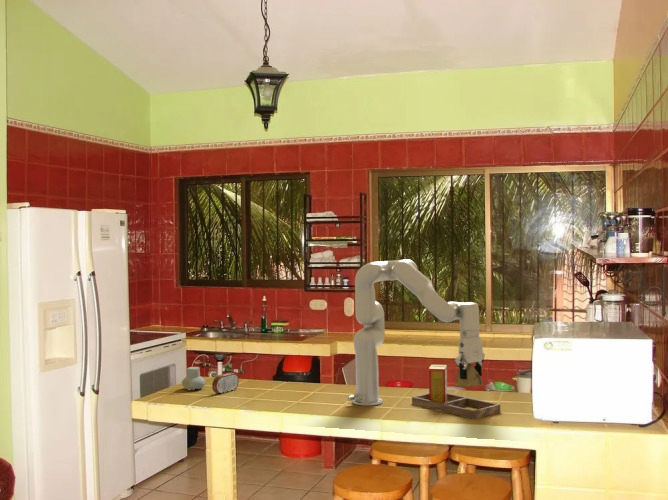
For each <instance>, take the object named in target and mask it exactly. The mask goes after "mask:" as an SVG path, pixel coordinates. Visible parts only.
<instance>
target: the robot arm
mask: <svg viewBox="0 0 668 500" xmlns="http://www.w3.org/2000/svg"><path fill="white" fill-rule="evenodd" d="M383 281H384V282H385V281H398V282H399V283H401V284H402V285H403V286H404V287H405V288H406V289H408V291H410V292H411V293H412V294H413V295H415V296H416V298H417V299H418V300H419V302H420V303H421V305H422V306H424V308H426V309H427V310H428V311H429V312H430V313H431V314H432V315H433V316H434V317H435V318H437V319H438V320H440V321H441V322H444V323H451V322H453V321H456V320H459V341H458V356H457V357H456V358H455V360H454V361H455V363H456V366H457V368H458V369H460V379H465V380H466V379H467V369H466V366H467V364H471V365H472V364H475V365H474V366H473V367H474V368H475V370H476V371H477V372H478V373H479V375H480V377H482V376H483V373H482V367H483V363H484V360H485V357H486V354H485V353H484V352H483V351H484V350H483V349H484V348H483V342H482V337H481V335H480V316H479V315H480V308H479V304H478V303H477V302H472V301H468V302H460V301H459V302H458V301H448V302H447V301H446V300H445V299H444V298H443V297H441V295H439V294H438V293H437V292H436V290H435V289H434V286H433V283H432V281H431V280H430V279H429V278H428V277H427V276H425V274H423V273H422V272H421V271H419V269H418V265H417V264H416V263H415V262H414V261H413V260H411V259H408V258H407V259H406V258H405V259H399V260H398V259H397V260H396V259H395V260H384V261H383V260H382V261H381V260H380V261H371V262H368V263H366V264H364V265H362V266H361V267H360V268H359V269H358V270H357V272H356V274H355V278H354V295H355V299H354V303H355V304H354V305H355V319H356V321H357V322H358V323H359V324H360V325H363V328H361V329H359V330H357V332H356V333H355V334H354V337H353V347H354V354H355V392H353V393H354V394H353V395H348V396H347V401H349V402H351V401H352V403H353V404H354V405H357V406H363V407H364V406H367V407H368V406H377V405H381V404H382V403H383V399H382V398H381V397H380V396H379V395H380V393H379V391H380V390H379V357H378V356H379V355H378V351H377V350H378V349H377V348H378V347H380V346H381V345H382V344H383V343H384V341H385V338H386V337H385V334H386V332H385V331H386V330H385V329H386V328H385V312H384V308H383V305H382V304H381V303H380V302H378V301H377V300H376V289H375V284H376V283H378V282H383ZM463 364H464V366H463Z"/></svg>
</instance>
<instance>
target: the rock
mask: <svg viewBox="0 0 668 500" xmlns="http://www.w3.org/2000/svg"><path fill="white" fill-rule="evenodd" d="M463 366H464V364H463ZM466 369H467V379H466V380H465V379H460V369H459V368H458V370H457V374H456V381H455V387H456V388H461V387H462V388H466V387H467V388H468V387H476V386H477V387H479V386H483V385H484V384H483V383H484V382H483V380H482V376H480V375H479V373H478V372H477V371H476V370H475V368H474V366H473V364H472V363H471V364H467V366H466Z"/></svg>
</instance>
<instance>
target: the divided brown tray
mask: <svg viewBox="0 0 668 500" xmlns="http://www.w3.org/2000/svg"><path fill="white" fill-rule="evenodd" d="M411 405H416V406H418V407H422V408H423V407H424V408H426V409H432V410H435V411H440V412H442V413H443V412H444V413H448V414H451V415H456V416H460V417H464V418H467V419H471V420H476V419H480V418H484V417H488V416H492V415H494V414H495V415H496V414H499V413H501V404H499V403H495V402H490V401H485V400H481V399H475V398H471V397H467V396H463V395H458V394H453V393H449V392H447V402H445V403H439V402H435V401H431V400H429V393H427V392H426V393H422V394H419V395H413V396H412V397H411ZM466 406H469V407H473V408H477V409H475V410H473V409H469V408H464V407H466ZM481 408H482V409H481Z"/></svg>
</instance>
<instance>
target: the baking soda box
mask: <svg viewBox="0 0 668 500" xmlns="http://www.w3.org/2000/svg"><path fill="white" fill-rule="evenodd" d="M428 389H429V391H428V392H429V400H431V401H435V402H439V403H445V402H448V401H447V393H448V365H447V364H430V366H429V368H428Z"/></svg>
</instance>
